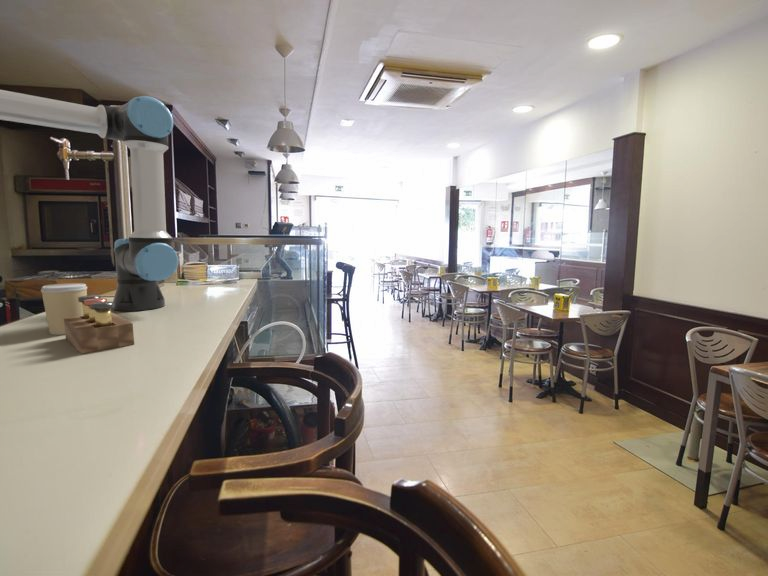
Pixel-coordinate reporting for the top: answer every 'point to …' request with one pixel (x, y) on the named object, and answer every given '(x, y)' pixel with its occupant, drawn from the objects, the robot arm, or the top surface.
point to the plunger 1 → (85, 308)
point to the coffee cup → (62, 304)
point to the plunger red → (91, 311)
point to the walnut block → (98, 334)
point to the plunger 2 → (102, 313)
